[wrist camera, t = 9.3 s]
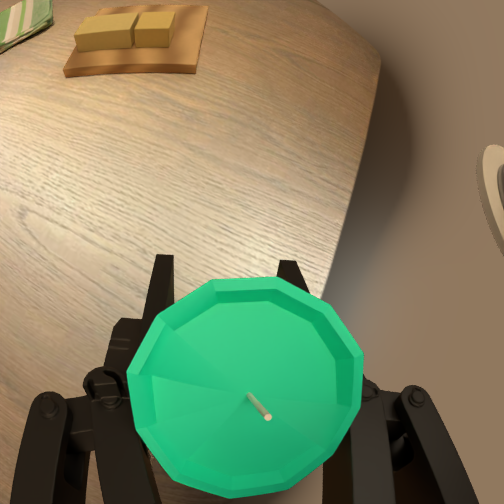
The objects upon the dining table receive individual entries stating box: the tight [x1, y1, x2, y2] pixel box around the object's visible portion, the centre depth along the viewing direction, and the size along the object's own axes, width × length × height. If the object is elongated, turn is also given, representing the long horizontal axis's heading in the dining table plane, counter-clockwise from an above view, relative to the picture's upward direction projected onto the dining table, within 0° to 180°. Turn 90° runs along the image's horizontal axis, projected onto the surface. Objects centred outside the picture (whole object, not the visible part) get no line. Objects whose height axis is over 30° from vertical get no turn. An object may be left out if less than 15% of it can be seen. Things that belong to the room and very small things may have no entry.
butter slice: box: [134, 12, 175, 48], centre depth 27 cm, size 4×4×3 cm
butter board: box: [63, 5, 209, 77], centre depth 29 cm, size 16×14×2 cm
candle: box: [126, 277, 364, 499], centre depth 11 cm, size 6×6×12 cm
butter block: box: [74, 12, 139, 52], centre depth 26 cm, size 7×4×3 cm, turn 90°
